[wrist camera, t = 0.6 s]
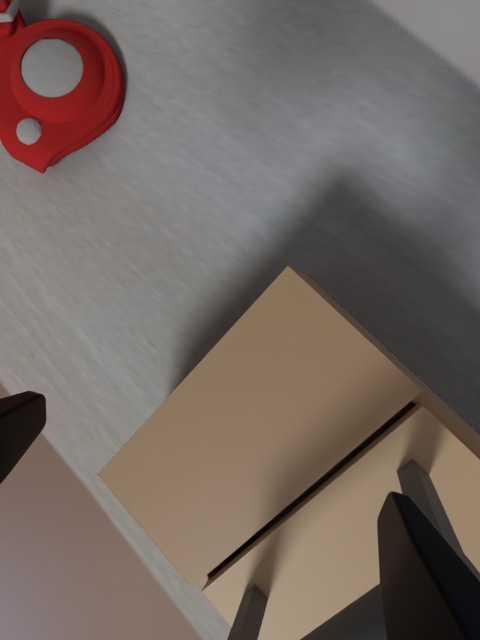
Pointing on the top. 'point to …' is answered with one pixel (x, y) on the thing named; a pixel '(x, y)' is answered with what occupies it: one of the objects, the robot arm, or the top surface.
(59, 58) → the tracker holder
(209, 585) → the carton flap
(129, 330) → the top surface
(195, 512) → the kraft carton
